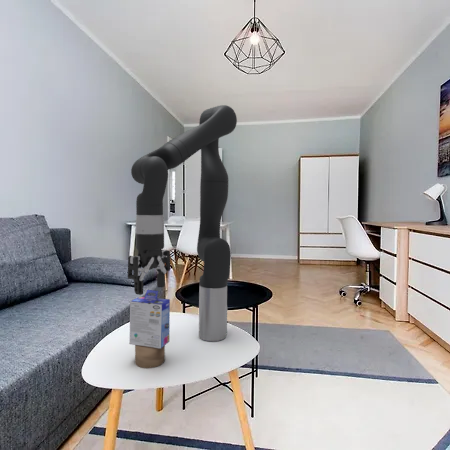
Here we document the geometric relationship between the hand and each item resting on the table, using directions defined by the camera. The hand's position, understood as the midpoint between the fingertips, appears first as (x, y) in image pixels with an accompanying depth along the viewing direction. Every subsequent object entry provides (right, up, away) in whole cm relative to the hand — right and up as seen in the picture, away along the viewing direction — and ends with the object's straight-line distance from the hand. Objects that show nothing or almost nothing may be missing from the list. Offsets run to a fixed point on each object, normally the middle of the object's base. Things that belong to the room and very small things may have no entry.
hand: (150, 290), depth 86 cm
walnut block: (0, -20, +1) cm, 20 cm away
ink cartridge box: (0, -15, +1) cm, 15 cm away
